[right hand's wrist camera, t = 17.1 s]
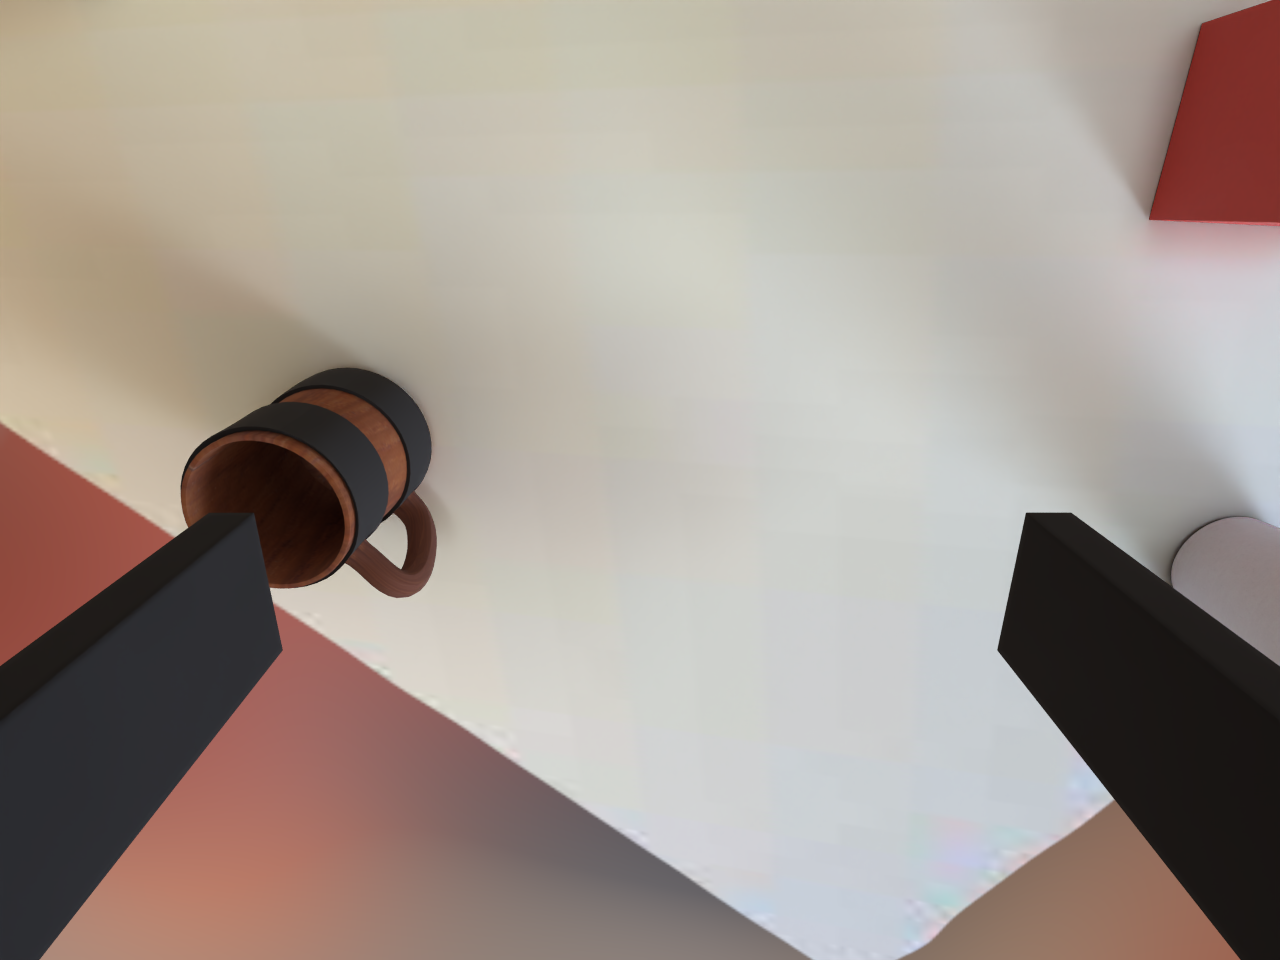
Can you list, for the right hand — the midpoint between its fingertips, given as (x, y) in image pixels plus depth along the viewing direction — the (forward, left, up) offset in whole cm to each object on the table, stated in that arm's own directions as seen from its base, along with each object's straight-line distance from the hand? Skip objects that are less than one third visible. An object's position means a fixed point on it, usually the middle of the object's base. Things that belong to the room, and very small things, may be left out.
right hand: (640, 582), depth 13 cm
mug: (-14, -9, -30) cm, 35 cm away
